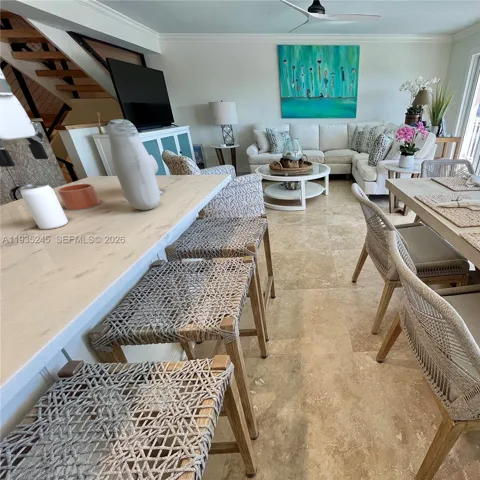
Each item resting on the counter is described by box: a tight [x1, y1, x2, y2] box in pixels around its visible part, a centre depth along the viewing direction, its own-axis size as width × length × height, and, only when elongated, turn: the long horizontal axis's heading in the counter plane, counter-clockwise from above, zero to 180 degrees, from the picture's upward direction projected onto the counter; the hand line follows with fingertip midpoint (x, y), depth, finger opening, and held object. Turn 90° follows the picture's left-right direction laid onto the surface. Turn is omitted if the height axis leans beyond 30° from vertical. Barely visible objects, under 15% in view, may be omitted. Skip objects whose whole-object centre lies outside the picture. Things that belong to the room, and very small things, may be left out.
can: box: [19, 182, 69, 231], centre depth 75 cm, size 6×6×12 cm
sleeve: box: [57, 183, 101, 211], centre depth 90 cm, size 9×9×7 cm
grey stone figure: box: [106, 118, 161, 211], centre depth 84 cm, size 10×10×28 cm
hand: (26, 162), depth 70 cm, fingers open, 9 cm apart
